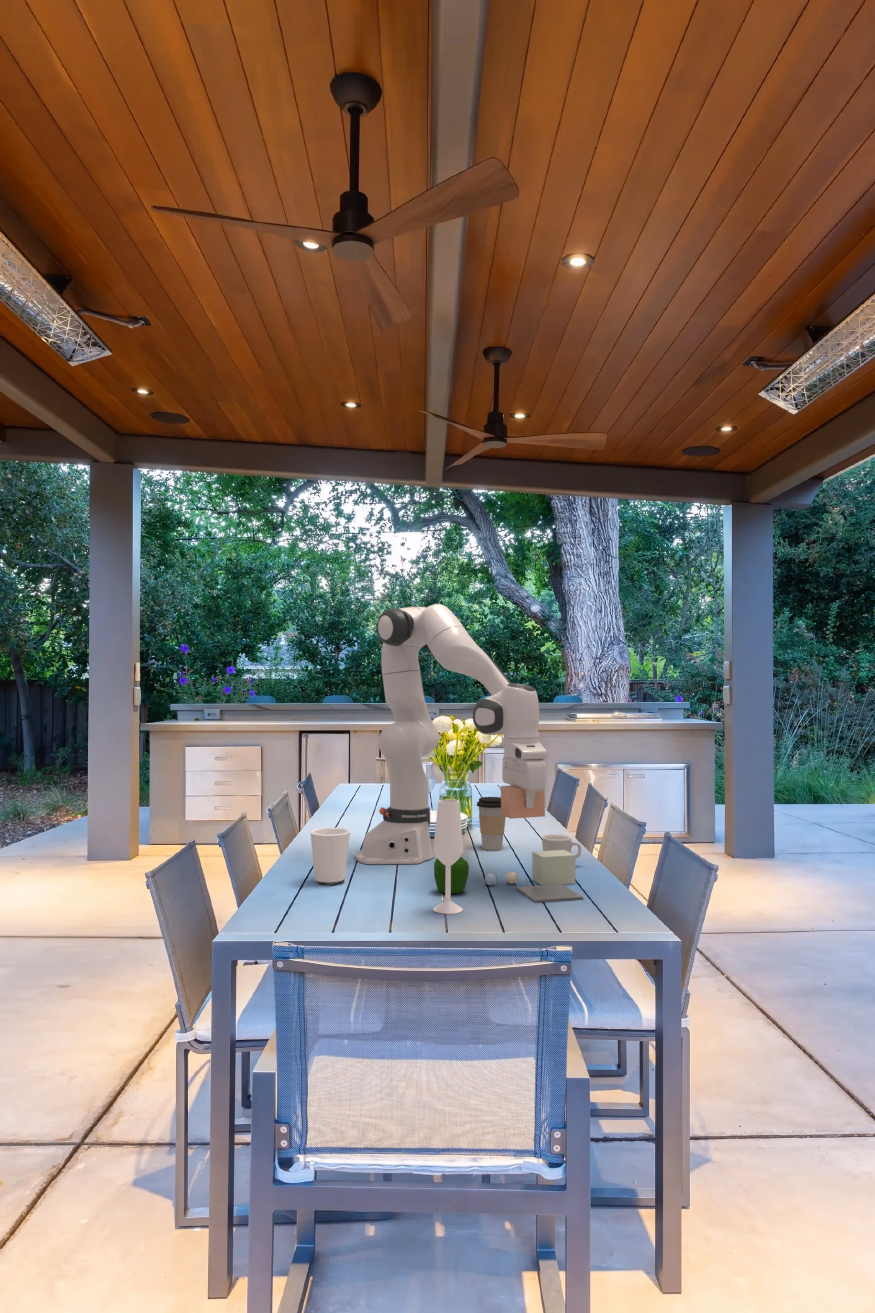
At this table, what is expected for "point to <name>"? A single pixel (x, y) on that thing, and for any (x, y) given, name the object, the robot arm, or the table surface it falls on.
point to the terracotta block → (521, 803)
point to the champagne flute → (448, 847)
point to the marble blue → (490, 879)
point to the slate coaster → (549, 893)
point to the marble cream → (512, 877)
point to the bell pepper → (452, 875)
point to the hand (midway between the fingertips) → (523, 805)
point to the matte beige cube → (553, 867)
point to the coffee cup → (491, 823)
